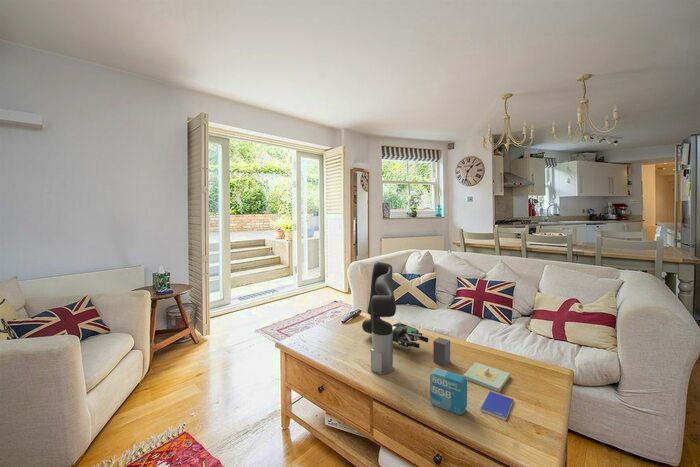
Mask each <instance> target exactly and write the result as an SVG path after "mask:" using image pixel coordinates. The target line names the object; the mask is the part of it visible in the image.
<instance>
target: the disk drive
mask: <svg viewBox="0 0 700 467" xmlns="http://www.w3.org/2000/svg"><path fill="white" fill-rule="evenodd" d="M391 325H392V326H396V327H399V328H403V329H405V330H406V331H407V333H412V331H415V332H419V329H417V328H415V327H412V326H410V325H407V324H404V323H402V322H397V323H394V324H391ZM419 333H420V332H419Z"/></svg>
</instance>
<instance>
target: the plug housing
mask: <svg viewBox="0 0 700 467" xmlns="http://www.w3.org/2000/svg"><path fill="white" fill-rule="evenodd" d="M432 352H433V354H432V356H433V357H432V358H433V359H432V360H433V363H435V364H438V365H440V366H444V367H445V366H447V365H448V364H450V362H451V340H449V339H446V338H444V337H440V336H439V337H437V338H435V339H434V340H433V350H432Z"/></svg>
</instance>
